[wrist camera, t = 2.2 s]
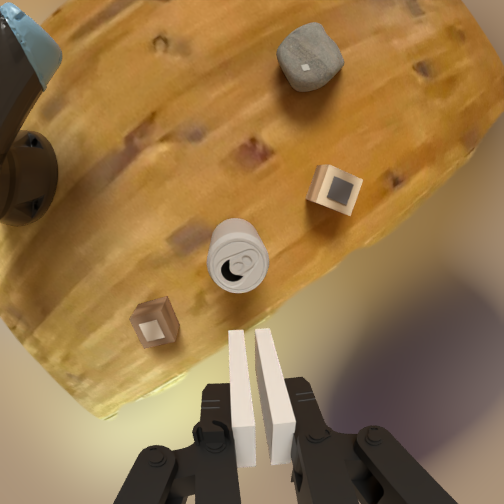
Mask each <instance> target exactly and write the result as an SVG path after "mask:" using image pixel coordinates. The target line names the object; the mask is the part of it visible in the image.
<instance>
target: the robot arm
mask: <svg viewBox="0 0 504 504" xmlns="http://www.w3.org/2000/svg"><path fill="white" fill-rule="evenodd" d="M61 61H62V51H61V49H60V47H59V46H58V44H57V43H56V42H55V41H54V40H53V39H52V38H51V37H50V36H49V35H48V33H47V32H46V31H45V30H44V29H42V28H41V27H40V26H39V25H38V24H37V23H36V22H35V21H34V20H32V18H30V17H29V16H27V15H26V14H25V13H24V12H22V11H21V10H20V9H19V8H18V7H17V6H15V5H14V4H12V3H9V2H8V3H5V4H4V5H3V6H0V223H3V224H7V225H12V226H23V225H26V224H29V223H32V222H34V221H36V220H38V219H39V218H40V217H41V216H42V215H43V214H44V213H45V212H46V211H47V209H48V207H49V206H50V204H51V202H52V199H53V197H54V194H55V190H56V185H57V174H58V173H57V161H56V156H55V153H54V150H53V148H52V146H51V144H50V142H49V141H48V140H47V139H46V138H45V137H44V136H43V135H42V134H40V133H38V132H34V131H27V130H21V131H19V130H20V128H21V127H22V125H23V123H24V121H25V120H26V118H27V116H28V114H29V113H30V111H31V109H32V108H33V106H34V105H35V103H36V101H37V100H38V98H39V97H40V95H41V94H42V92H44V91H45V90H46V88H47V84H48V82H49V81H50V79H51V78H52V76H53V75H54V73H55V72H56V70H57V69H58V67H59V66H60V64H61ZM228 333H229V364H230V365H229V367H230V383H222V384H207V386H206V387H205V389H204V390H203V391H202V403H201V417H200V422H198V423H197V424H196V425H195V426H194V428H193V431H192V433H193V437H194V441H195V442H194V443H193V444H192V445H190V446H189V447H186V448H183V449H179V450H173V451H171V450H170V449H169V448H167V447H164V446H159V445H154V446H149V447H147V448H145V449H143V450H142V451H141V452H140V454H139V455H138V457H137V459H136V461H135V463H134V465H133V467H132V469H131V470H130V473H129V474H128V476H127V478H126V480H125V482H124V484H123V486H122V488H121V490H120V491H119V493H118V495H117V498H116V499H115V501H114V503H113V504H186V501H187V498H188V496H190V495H194V494H195V504H241V498H240V490H239V482H238V473H237V468H239V467H255V466H256V444H255V421H254V413H253V405H252V397H251V389H250V382H249V373H248V365H247V357H246V348H245V340H244V331H243V330H228ZM255 368H256V376H257V382H258V389H259V395H260V402H261V408H262V414H263V420H264V426H265V431H266V438H267V444H268V450H269V456H270V462H271V465H277V464H286V463H290V462H291V459H292V463H293V471H292V477H291V482H294V485H295V490H296V495H297V501H298V504H359V502H360V503H361V504H458V503H457V502H456V501H455V500H454V499H453V498H452V497H451V496H450V495H449V494H448V493H447V492H446V491H445V490H444V489H443V488H442V487H441V486H440V485H439V484H438V483H437V482H436V481H435V480H434V479H433V478H432V477H431V476H430V475H429V474H428V472H427V471H426V470H425V469H423V467H422V466H421V465H420V464H419V463H418V462H417V461H416V460H415V459H414V458H413V457H412V456H411V455H410V454H409V453H408V452H407V450H406V449H404V447H403V446H402V445H401V444H400V443H399V442H398V441H397V440H396V439H395V438H394V437H393V436H392V435H391V433H390V432H388V431H387V430H386V429H385V428H383V427H380V426H368V427H364V428H363V429H361V430H360V431H359V433H358V434H343V433H338V432H335V431H333V430H332V429H331V428H330V427H328V426H327V425H326V424H325V422H324V419H323V417H322V414H321V411H320V409H319V406H318V404H317V401H316V400H315V396H314V394H313V391H312V388H311V386H310V383H309V382H308V381H306V380H305V379H304V378H303V377H296V378H286V379H284V378H283V374H282V371H281V367H280V363H279V360H278V357H277V353H276V349H275V346H274V342H273V339H272V336H271V331H270V329H269V328H265V329H255ZM358 500H359V502H358Z"/></svg>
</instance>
